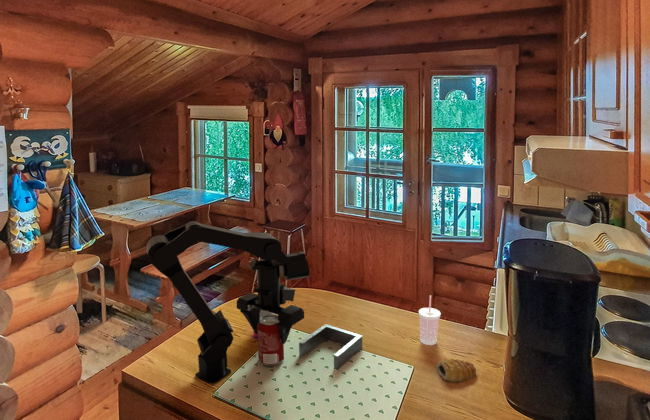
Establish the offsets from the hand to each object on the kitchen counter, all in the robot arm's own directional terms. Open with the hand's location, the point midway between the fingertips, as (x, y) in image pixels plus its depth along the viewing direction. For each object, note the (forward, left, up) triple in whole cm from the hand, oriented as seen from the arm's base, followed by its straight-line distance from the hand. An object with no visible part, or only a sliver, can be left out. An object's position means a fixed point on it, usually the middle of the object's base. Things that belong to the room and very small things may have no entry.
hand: (270, 338), depth 116 cm
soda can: (0, 0, -7) cm, 7 cm away
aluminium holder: (+13, -11, -6) cm, 18 cm away
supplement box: (+10, +11, -7) cm, 16 cm away
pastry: (+21, -43, -7) cm, 48 cm away
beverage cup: (+33, -31, -7) cm, 46 cm away
